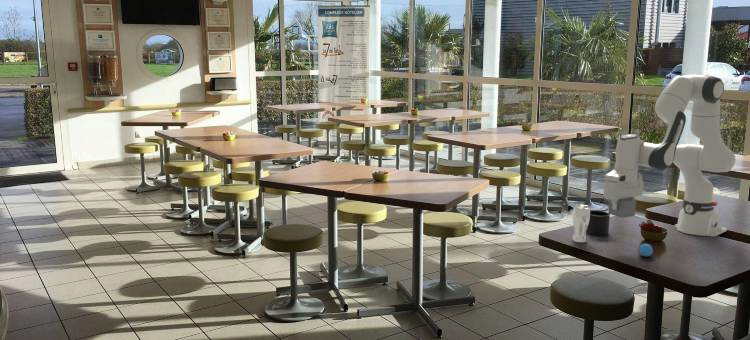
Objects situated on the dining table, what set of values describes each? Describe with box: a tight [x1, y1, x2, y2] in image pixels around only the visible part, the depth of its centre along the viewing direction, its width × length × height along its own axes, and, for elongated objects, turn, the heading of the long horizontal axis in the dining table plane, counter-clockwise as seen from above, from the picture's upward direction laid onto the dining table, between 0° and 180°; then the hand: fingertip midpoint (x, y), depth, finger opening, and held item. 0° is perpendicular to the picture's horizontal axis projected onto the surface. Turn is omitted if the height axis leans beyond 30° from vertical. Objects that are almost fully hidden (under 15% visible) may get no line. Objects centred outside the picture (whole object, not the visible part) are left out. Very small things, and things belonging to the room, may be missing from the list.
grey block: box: [607, 197, 637, 219], centre depth 259 cm, size 7×7×7 cm
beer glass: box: [571, 204, 591, 244], centre depth 270 cm, size 7×7×15 cm
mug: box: [587, 210, 611, 237], centre depth 283 cm, size 9×12×9 cm
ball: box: [638, 243, 654, 257], centre depth 251 cm, size 5×5×5 cm
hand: (622, 208), depth 259 cm, fingers closed on grey block, 7 cm apart
